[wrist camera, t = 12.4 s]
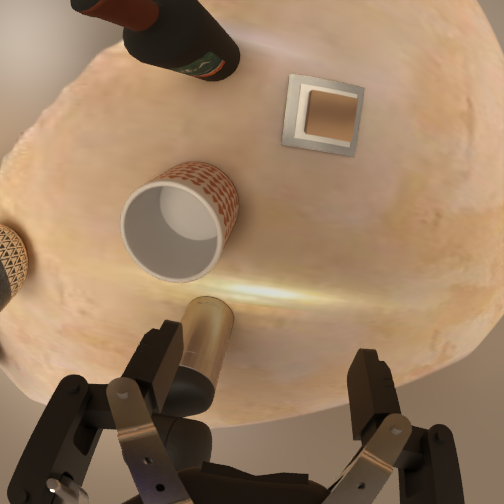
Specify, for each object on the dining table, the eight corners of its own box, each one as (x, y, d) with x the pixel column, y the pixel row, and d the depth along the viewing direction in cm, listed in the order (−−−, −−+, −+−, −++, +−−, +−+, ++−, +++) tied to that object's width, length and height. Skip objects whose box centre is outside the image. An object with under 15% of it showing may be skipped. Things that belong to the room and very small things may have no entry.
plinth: (349, 154, 40) (358, 161, 35) (281, 142, 41) (280, 147, 35) (359, 89, 35) (370, 86, 30) (289, 76, 36) (290, 70, 31)
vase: (142, 192, 47) (101, 220, 35) (205, 143, 42) (175, 157, 31) (190, 256, 51) (163, 298, 40) (256, 216, 46) (245, 254, 35)
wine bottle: (250, 48, 35) (177, -51, 8) (221, 90, 38) (99, 65, 11) (206, 27, 33) (85, -62, 7) (179, 68, 37) (26, 36, 10)
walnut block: (343, 138, 34) (351, 142, 29) (303, 131, 34) (306, 134, 30) (349, 100, 31) (358, 98, 27) (308, 92, 32) (312, 89, 27)
